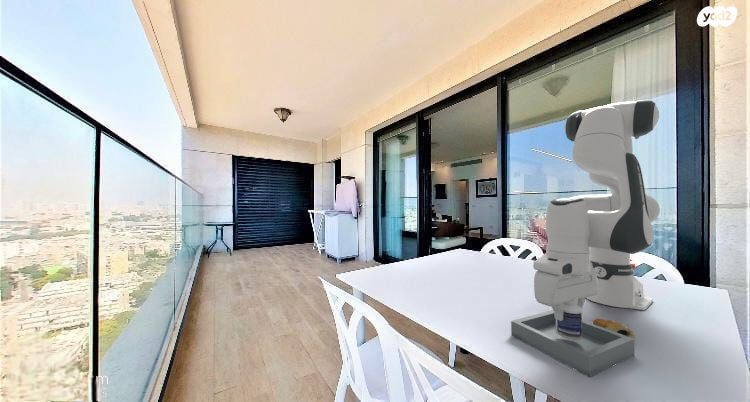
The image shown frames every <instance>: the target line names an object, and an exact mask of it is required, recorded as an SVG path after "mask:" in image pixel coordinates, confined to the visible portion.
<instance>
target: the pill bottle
mask: <svg viewBox="0 0 750 402" xmlns="http://www.w3.org/2000/svg"><path fill="white" fill-rule="evenodd" d="M577 304H578V298H576V299H574V300H573V301H571V302H567V303H563V307H562V310H563V312H564V313H566V316H565V317H566V319H565V320H562V321H559V320H557V319H555V327H556V333H557V334H558V335H560V336H562V337H564V338H567V339H572V340H580V339H582V320H583V309H582V310H581V308H580V307H579V306H578V305H577Z"/></svg>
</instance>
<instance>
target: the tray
mask: <svg viewBox="0 0 750 402" xmlns="http://www.w3.org/2000/svg"><path fill="white" fill-rule="evenodd" d="M510 325H511V326H510V336H511V337H513V338H515V339H516V340H519V341H520V342H522V343H524V344H526V345H527V346H530V347H532V348H533V349H536V350H537V351H539V352H541V353H543V354H545V355H546V356H548V355H549V357H550V356H551V357H550V358H553V359H554V360H557V361H558V362H561V363H562V364H564V365H565V364H566V366H567V365H568V366H567V367H569V366H570V367H569V368H571V369H573V368H574V369H573V370H575V369H576V370H575V371H577V372H579V373H581V374H583V375H584V374H585V376H586V375H587V377H588V378H591V377H593V376H596V375H597V374H600V373H601V372H604V371H606V370H608V369H611V368H613V367H614V366H613V365H615V364H617V363H619V364H621V363H623V362H625V361H627V360H630V359H632V358H633V357H635V338H634V339H633V338H630V337H628V336H625V335H622V334H619V333H617V332H614V331H611V330H608V329H606V328H603V327H600V326H597V325H594V324H593V322H589V321H585V320H583V319H582V339H580V340H572V339H567V338H564V337H562V336H560V335H558V334H557V333H556V327H555V317H554V310H553V309H551V310H547V311H544V312H539V313H536V314H532V315H529V316H525V317H521V318H517V319H514V320H511V321H510ZM617 365H618V364H617ZM612 366H613V367H612ZM615 366H616V365H615Z"/></svg>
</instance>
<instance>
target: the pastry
mask: <svg viewBox="0 0 750 402" xmlns="http://www.w3.org/2000/svg"><path fill="white" fill-rule="evenodd" d="M592 324H594V325H597V326H600V327H603V328H606V329H608V330H611V331H614V332H617V333H619V334H622V335H625V336H628V337H630V338H633V339H634V340H635V338H636V336H635V333H634V331H632V330H631V328H629V327H627V326H625V325H624V324H622V323H620V322H618V321H613V320H610V319H609V320H608V319H603V318H594V319H593V320H592Z"/></svg>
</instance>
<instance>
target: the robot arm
mask: <svg viewBox="0 0 750 402" xmlns="http://www.w3.org/2000/svg"><path fill="white" fill-rule="evenodd" d="M659 119H660V109H659V108H658V106H657V105H656V102H655V101H653V100H649V99H640V100H639V99H638V100H636V101H625V102H617V103H616V102H615V103H609V104H607V105H603V106H602V105H601V106H597V107H593V108H589V109H585V110H583V109H581V110H577V111H575V112H573V113H571V114H569V116H568V117H567V118H566V121H565V125H564V133H565V135H566V138H567V139H568V140H569V141H570V142H573V147H572V160H573V162H574V164H575V165H576V166H577V167H578V168H580V169H581V170H583V171H584V172H587V173H588V174H589V175H588V176H589V179H590V181H591V182H593V183H594V184H596V185H598V186H601V187H605V188H607V189H610V193H608V194H581V195H577V196H576V195H575V196H572V197H562V198H556V199H552V200H551V201H549V203H548V206H547V211H546V216H545V219H546V220H545V233H546V236H547V243H546V247H545V251H546V252H545V253H544V254H542V256H540V257H539V258H537V259H535V260H534V261H533V265H532V266H533V269H534V270H535V274H534V277H533V286H534V287H533V292H534V293H533V294H534V298H535V300H536V302H537V303H539V304H542V305H544V306H548V307H551V310H554V317H555V319H557V320H559V321H562V320H565V319H566V317H565V316H566V313H564V312H563V310H562V307H563V303H567V302H571V301H573V300H574V299H576V298H578V304H577V305H578V306H579V307H580V308H581V310H582V311H583V307H584V305H585V301H586V299H587V300H588V301H592V302H595V303H597V304H601V305H604V306H605V305H606V306H609V307H615V308H622V309H634V310H640V311H645V310H647V308H648V307H649V306H650V305H651V304H652V303H653V302H654V299H653V298H652V297H650V296H646V295H645V294H644V284H643V283H642V282H641V281H640V280H639V279H637V277H636V276H634V273H635V272H634V270H636V269H637V267H636V263H631V259H630V258H631V255H633V254H634V255H635V254H637V253H640V252H642V251H644V250H646V249H648V248H649V247H651V245H652V244H653V241H654V237H655V236H654V230H653V224H652V222H653V223H654V222H655V220H656V219H658V216H660V210H661V209H660V205H659V202H658V201H657V200H656V199H655V198H654V197H653V196H651V195H648V194H647V193H646V190H645V184H644V180H643V179H644V178H643V172H642V169H641V165H640V163H639V162H640V161H639V160H638V158H637V157H636V156H635V154H634V153H633V149H634V148H633V147H634V146H633V140H632V139H633V138H632V137H634V139H635V140H638V139H639V138H640V137H642V136H646V135H648V134H649V133H651V132H652V131H654V129H655V127H656V125H657V124H658V122H659Z"/></svg>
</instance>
